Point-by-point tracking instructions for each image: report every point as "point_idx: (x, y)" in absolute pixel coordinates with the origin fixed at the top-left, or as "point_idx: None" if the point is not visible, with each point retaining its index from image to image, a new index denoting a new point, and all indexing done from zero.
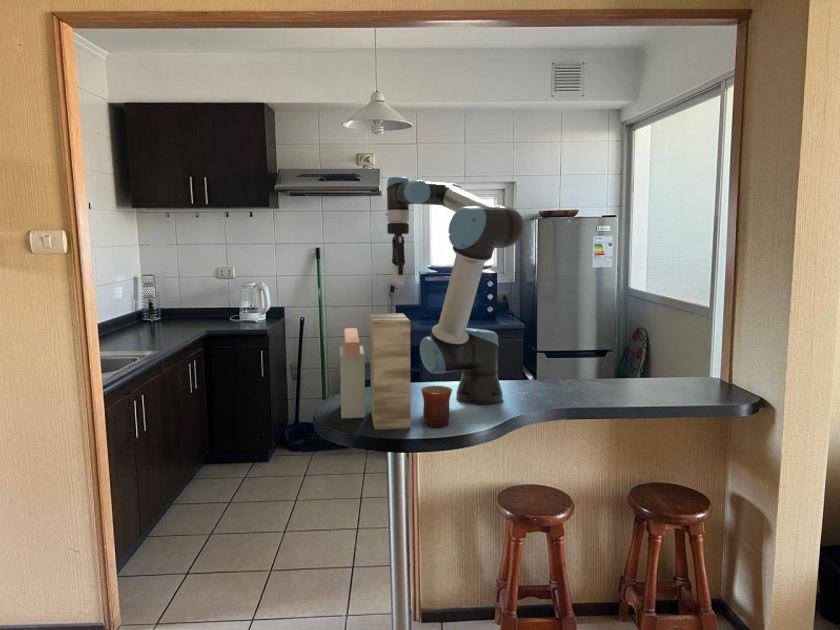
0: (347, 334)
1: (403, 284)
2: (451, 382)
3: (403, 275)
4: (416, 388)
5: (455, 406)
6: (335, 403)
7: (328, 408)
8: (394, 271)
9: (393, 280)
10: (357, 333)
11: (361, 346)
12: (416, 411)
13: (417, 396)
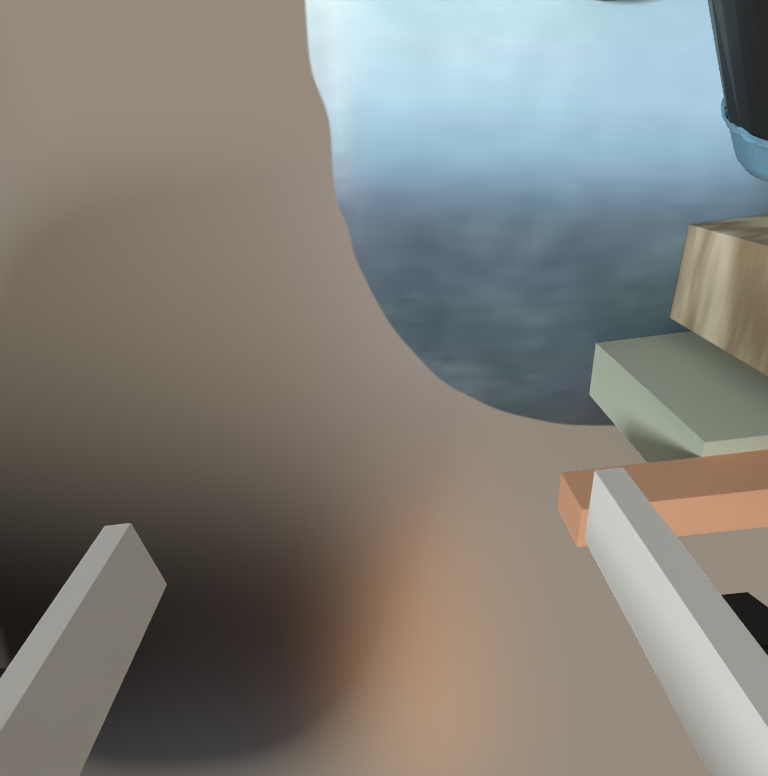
0: (754, 520)
1: (623, 478)
2: (317, 2)
3: (699, 578)
4: (421, 180)
5: (707, 16)
6: (566, 408)
7: (608, 417)
8: (85, 718)
9: (156, 596)
10: (744, 492)
11: (720, 444)
12: (716, 181)
13: (535, 176)
